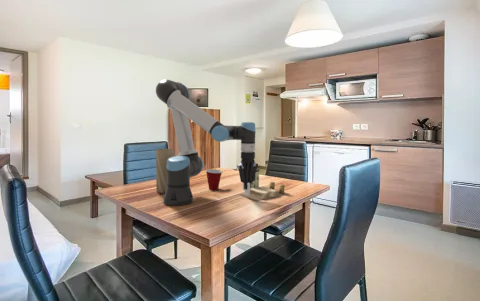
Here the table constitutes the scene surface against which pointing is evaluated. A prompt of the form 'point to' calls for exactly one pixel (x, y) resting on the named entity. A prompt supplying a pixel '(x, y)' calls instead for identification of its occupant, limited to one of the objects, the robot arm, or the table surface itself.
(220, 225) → the table surface
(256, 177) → the coffee can
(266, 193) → the beige ridged square block
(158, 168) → the tan tall block
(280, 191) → the board
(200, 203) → the table surface
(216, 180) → the plastic cup
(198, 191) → the table surface
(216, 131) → the robot arm
